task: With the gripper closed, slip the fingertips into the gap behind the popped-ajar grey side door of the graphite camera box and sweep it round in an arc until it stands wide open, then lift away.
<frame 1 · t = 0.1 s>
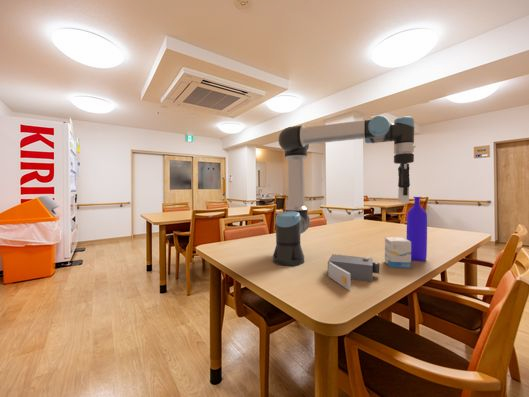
hand: (403, 202, 104), 28 cm above the table, fingers open, 13 cm apart
camera box: (350, 274, 96), on the table
bottle: (416, 259, 114), on the table
side door: (337, 274, 87), point 3 cm above the table, hinge at 50.0°
ink box: (397, 265, 106), on the table
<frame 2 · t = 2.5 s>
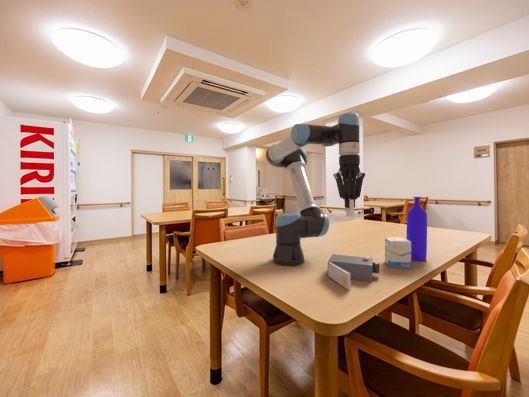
hand: (350, 216, 92), 24 cm above the table, fingers closed
nothing on the table moved.
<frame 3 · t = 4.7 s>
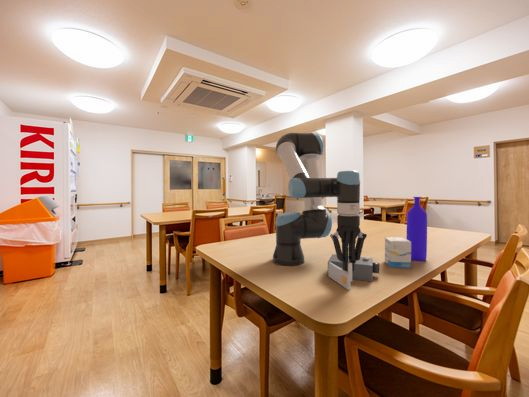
hand: (348, 279, 85), 2 cm above the table, fingers closed
side door: (337, 274, 87), point 3 cm above the table, hinge at 50.2°, touching gripper
everything else where it was.
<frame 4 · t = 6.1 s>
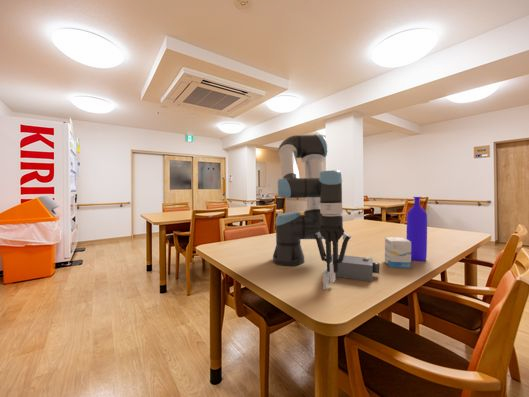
hand: (332, 280, 84), 2 cm above the table, fingers closed
side door: (326, 274, 88), point 3 cm above the table, hinge at 87.3°, touching gripper
everything else where it was.
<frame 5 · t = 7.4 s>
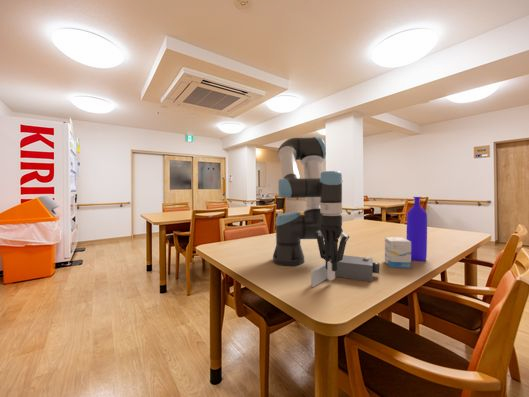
hand: (331, 278, 86), 2 cm above the table, fingers closed
side door: (321, 273, 89), point 3 cm above the table, hinge at 107.1°
everything else where it was.
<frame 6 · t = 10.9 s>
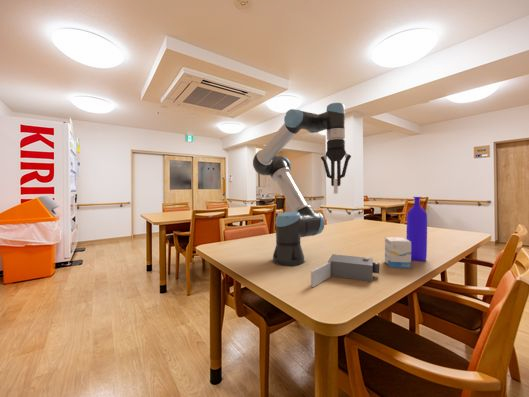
hand: (335, 193, 105), 32 cm above the table, fingers closed
nothing on the table moved.
at the end: side door at +107° (first picture: +50°) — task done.
